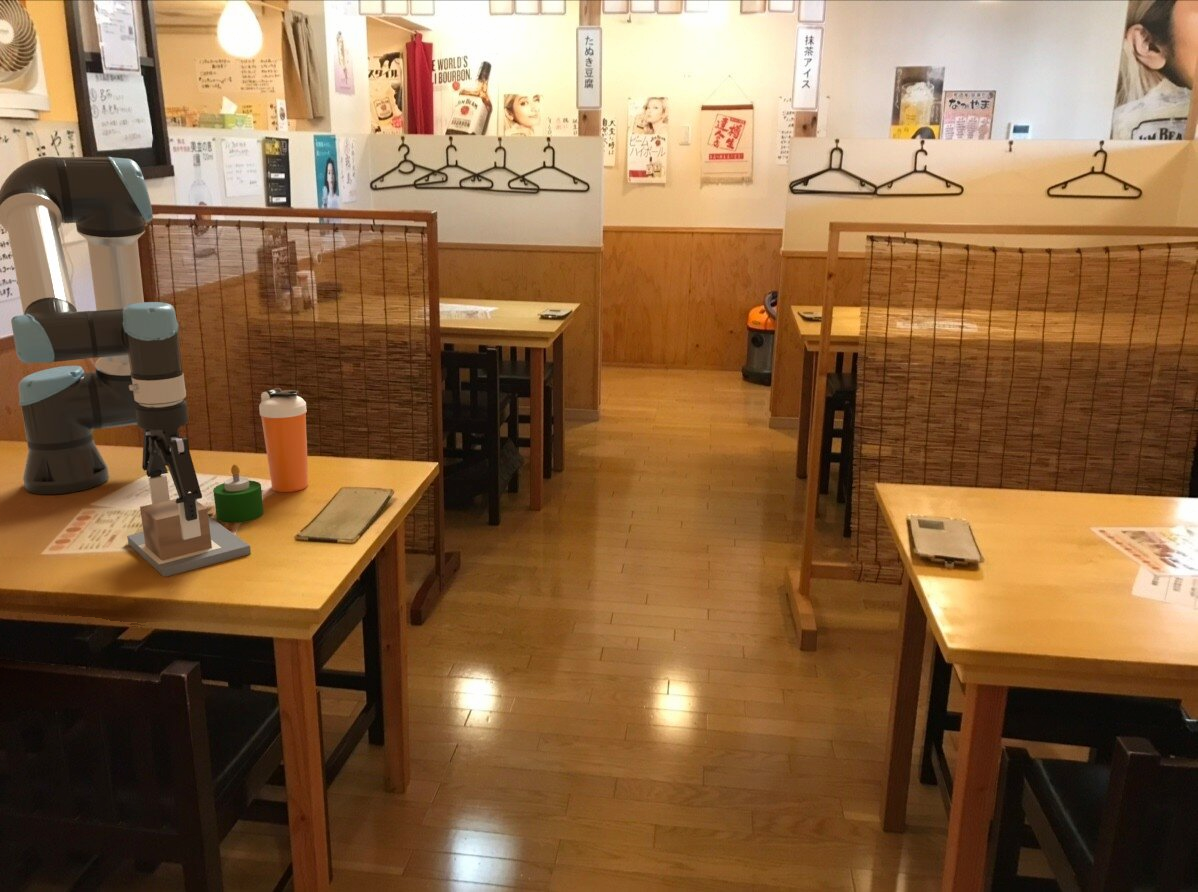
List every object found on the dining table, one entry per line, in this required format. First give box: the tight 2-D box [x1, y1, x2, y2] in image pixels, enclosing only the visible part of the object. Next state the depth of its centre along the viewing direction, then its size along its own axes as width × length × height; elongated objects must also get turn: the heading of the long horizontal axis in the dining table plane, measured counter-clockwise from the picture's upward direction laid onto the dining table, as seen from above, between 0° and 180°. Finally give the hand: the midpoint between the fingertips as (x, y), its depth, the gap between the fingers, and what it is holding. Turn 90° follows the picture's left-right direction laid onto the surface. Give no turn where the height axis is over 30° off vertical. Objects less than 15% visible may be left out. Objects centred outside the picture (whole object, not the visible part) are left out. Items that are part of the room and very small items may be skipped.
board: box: [127, 516, 252, 578], centre depth 159 cm, size 18×14×2 cm
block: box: [139, 498, 212, 561], centre depth 155 cm, size 8×8×7 cm
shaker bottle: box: [258, 387, 309, 493], centre depth 187 cm, size 9×9×20 cm
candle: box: [213, 463, 265, 524], centre depth 173 cm, size 8×8×10 cm
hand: (176, 524), depth 155 cm, fingers open, 13 cm apart
